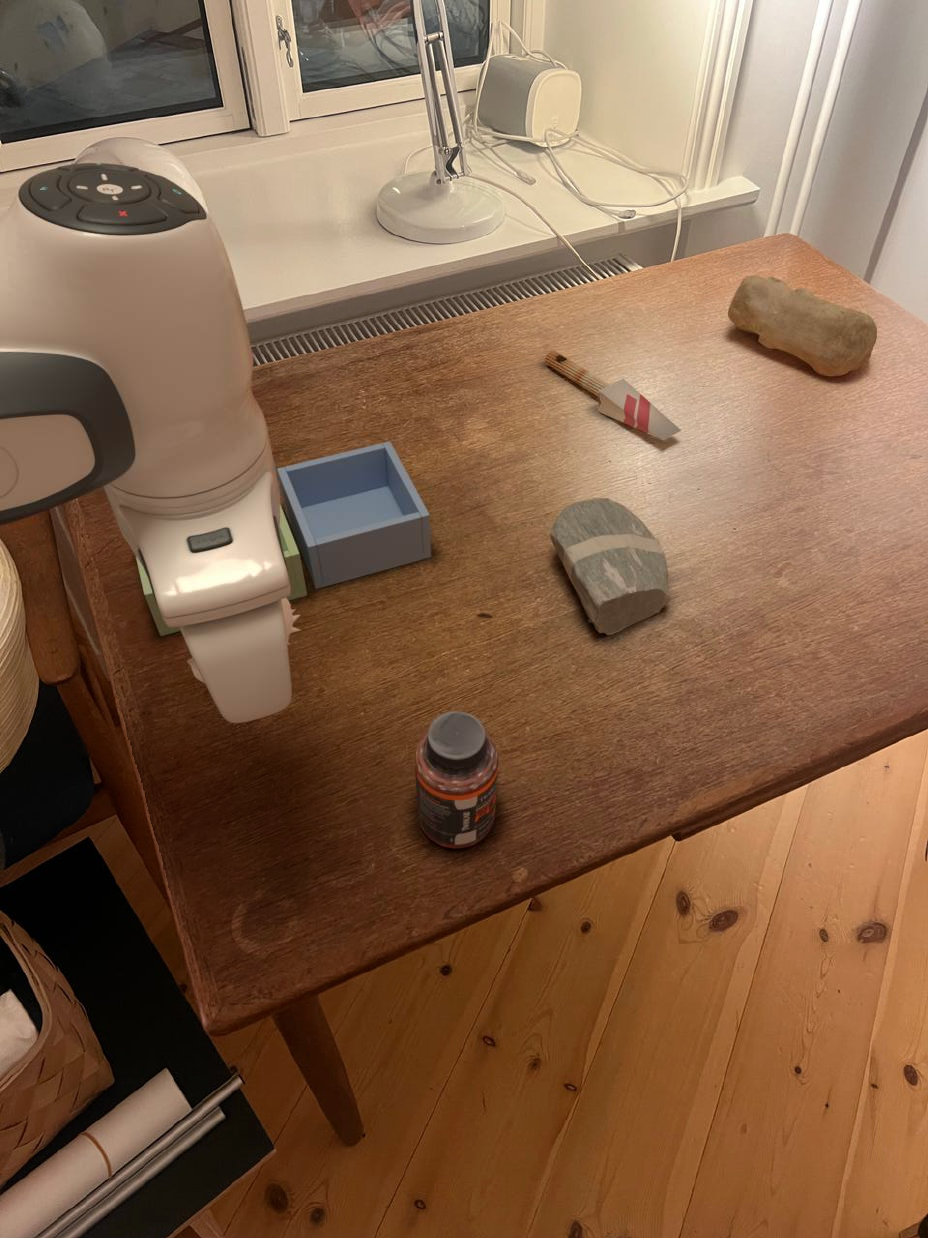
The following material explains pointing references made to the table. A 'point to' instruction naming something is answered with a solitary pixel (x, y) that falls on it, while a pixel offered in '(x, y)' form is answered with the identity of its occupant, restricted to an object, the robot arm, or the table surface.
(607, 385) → the trowel
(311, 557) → the blue bin
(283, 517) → the sage bin
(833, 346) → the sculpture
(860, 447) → the table surface
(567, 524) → the decorative stone
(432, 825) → the supplement bottle
